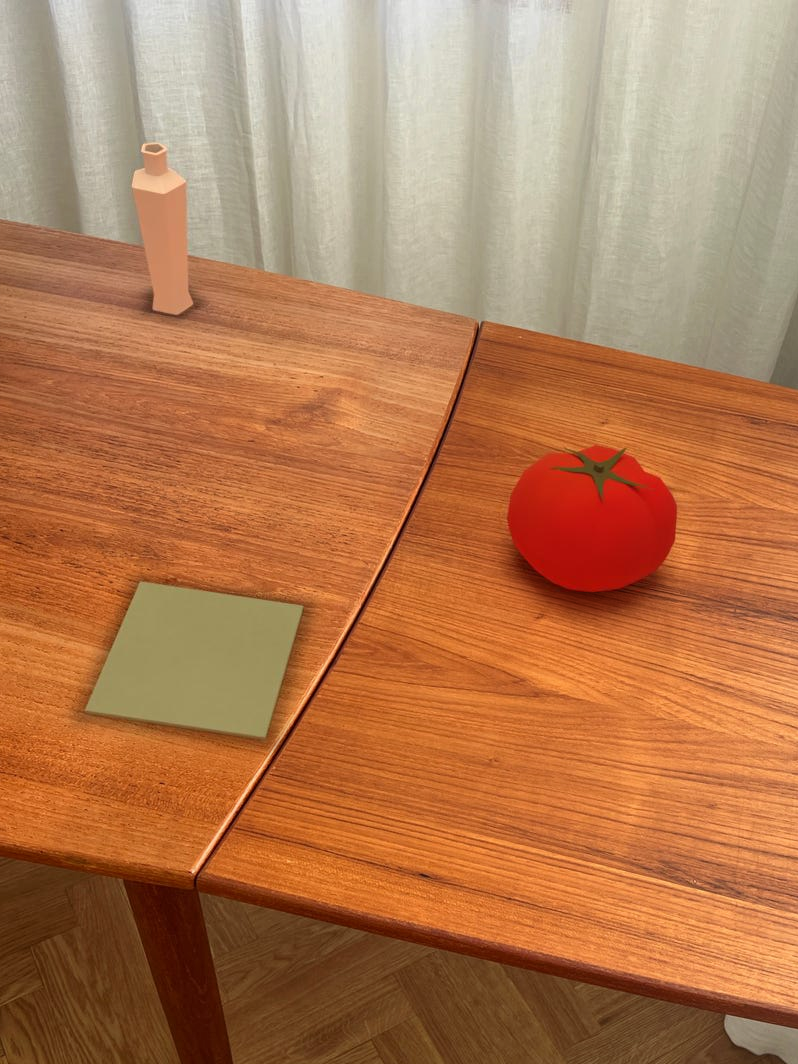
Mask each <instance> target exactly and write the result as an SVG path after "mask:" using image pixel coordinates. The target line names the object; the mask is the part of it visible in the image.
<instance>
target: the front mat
mask: <svg viewBox="0 0 798 1064" xmlns="http://www.w3.org/2000/svg"><path fill="white" fill-rule="evenodd" d="M304 609H305V608H304V605H301V604H295V603H287V602H281V601H275V600H270V599H269V600H268V599H261V598H254V597H248V596H241V595H236V594H235V595H234V594H227V593H221V592H214V591H208V590H202V589H194V588H187V587H181V586H174V585H169V584H168V585H167V584H160V583H153V582H147V581H139V583H138V585H137V588H136V589H135V593H134V595H133V597H132V599H131V601H130V603H129V606H128V609H127V611H126V614H125V616H124V618H123V620H122V623H121V625H120V627H119V629H118V632H117V634H116V636H115V638H114V641H113V644H112V646H111V647H110V648H111V649H110V651H109V652H108V655H107V657H106V659H105V663H104V665H103V667H102V669H101V671H100V674H99V676H98V678H97V681H96V683H95V685H94V688H93V690H92V692H91V695H90V697H89V699H88V701H87V704H86V706H85V709H84V713H85V714H87V715H93V716H100V717H106V718H111V719H112V718H113V719H121V720H126V721H133V722H139V723H146V724H154V725H159V726H160V725H161V726H166V727H174V728H179V729H186V730H192V731H193V730H194V731H200V732H207V733H213V734H221V735H227V736H233V737H239V738H240V737H241V738H246V739H253V740H254V739H255V740H261V741H266V740H267V736H268V734H269V731H270V730H269V729H270V726H271V722H272V719H273V717H274V713H275V710H276V706H277V702H278V699H279V695H280V692H281V688H282V685H283V681H284V678H285V674H286V671H287V668H288V664H289V661H290V657H291V654H292V650H293V647H294V644H295V641H296V637H297V633H298V630H299V626H300V623H301V620H302V615H303V613H304Z"/></svg>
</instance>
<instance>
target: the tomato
mask: <svg viewBox="0 0 798 1064" xmlns="http://www.w3.org/2000/svg"><path fill="white" fill-rule="evenodd" d="M562 447H563V448H564V450H566V451H569V453H567V452H566V453H565V452H562V453H561V452H558V453H557V452H556V453H547V454H545V455H544V456H542V457H541V458H540V459H538V460H537V461H536V462H533V464H531V465H530V466H529V467H527V468H526V469H525V470H524V471H523V472H522V474H521V475H520V478H519V479H518V481H517V482H516V484H515V486H514V488H513V490H512V491H511V493H510V496H509V497H510V498H509V502H508V508H507V514H506V515H507V516H506V521H507V526H508V530H509V533H510V536H511V539H512V541H513V545H514V547H515V549H516V550H517V551H518V552H519V553H520V554H521V556H522V557H523V559H525V561H527V563H528V564H529V565H530V566H531V568H533V570H534V571H535V572H537V573H538V574H539V575H541V576H542V577H544V578H545V579H546V580H548V581H549V582H550V583H552V584H555V585H557V586H559V587H562V588H564V589H567V590H568V591H569V590H570V591H578V592H587V593H596V592H605V591H612V590H620V589H622V588H624V587H627V586H630V585H631V584H633V583H635V582H638V581H640V580H642V579H644V578H646V577H647V576H649V575H650V574H652V573H654V572H656V570H657V569H658V568H660V566H662V565H663V564H664V562H665V561H666V559H667V557H668V555H669V554H670V552H671V549H672V548H673V545H674V543H675V542H676V533H677V532H676V531H677V520H678V519H677V518H678V517H677V516H678V505H677V502H676V498H675V497H674V495H673V493H672V492H671V490H670V489H669V488H668V485H666V483H665V482H664V481H663V479H662V478H661V477H660V476H657V475H655V474H653V473H650V472H647V471H645V470H644V468H643V467H642V466H641V464H640V463H639V461H638V459H636V458H635V457H634V456H631V455H630V454H627V453H625V451H626V450H627V446H625V448H623V449H621V450H620V451H619V450H617V449H615V448H612V447H607V446H602V445H598V444H597V445H596V444H595V445H591V446H589V447H586V448H584V449H580V450H578V451H576V450H573V449H570V448H567V447H565V446H564V445H562Z"/></svg>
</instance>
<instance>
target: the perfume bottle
mask: <svg viewBox="0 0 798 1064" xmlns="http://www.w3.org/2000/svg"><path fill="white" fill-rule="evenodd" d="M168 150H169V149H168V147H166V146H165V145H164V144H163V143H161V142H148V143H147V142H146V143H143V144H142V145H141V150H140V152H141V153H142V154H143V162H144V167H143V168H139V169H136V170H135V171H134V172H133V177H132V183H131V190H132V195H133V200H134V204H135V209H136V215H137V219H138V224H139V229H140V233H141V237H142V239H141V240H142V243H143V248H144V253H145V258H146V262H147V269H148V273H149V278H150V282H151V287H152V292H153V299H152V311H155V312H159V313H164V314H169V315H175V316H178V315H180V314H181V313H183V312H184V311H186V310H187V309H189V308H190V307H192V306H194V301H193V299H192V296H191V294H190V292H189V259H188V258H189V257H188V256H189V255H188V254H189V253H188V252H189V251H188V206H187V205H188V204H187V203H188V202H187V201H188V200H187V199H188V198H187V180H186V179H185V178H184V177H183V176H181V175H180V174H178V173H177V172H176V171H175V170H174V169H172V168H171V167H169V166H168V159H167V152H168Z"/></svg>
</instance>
